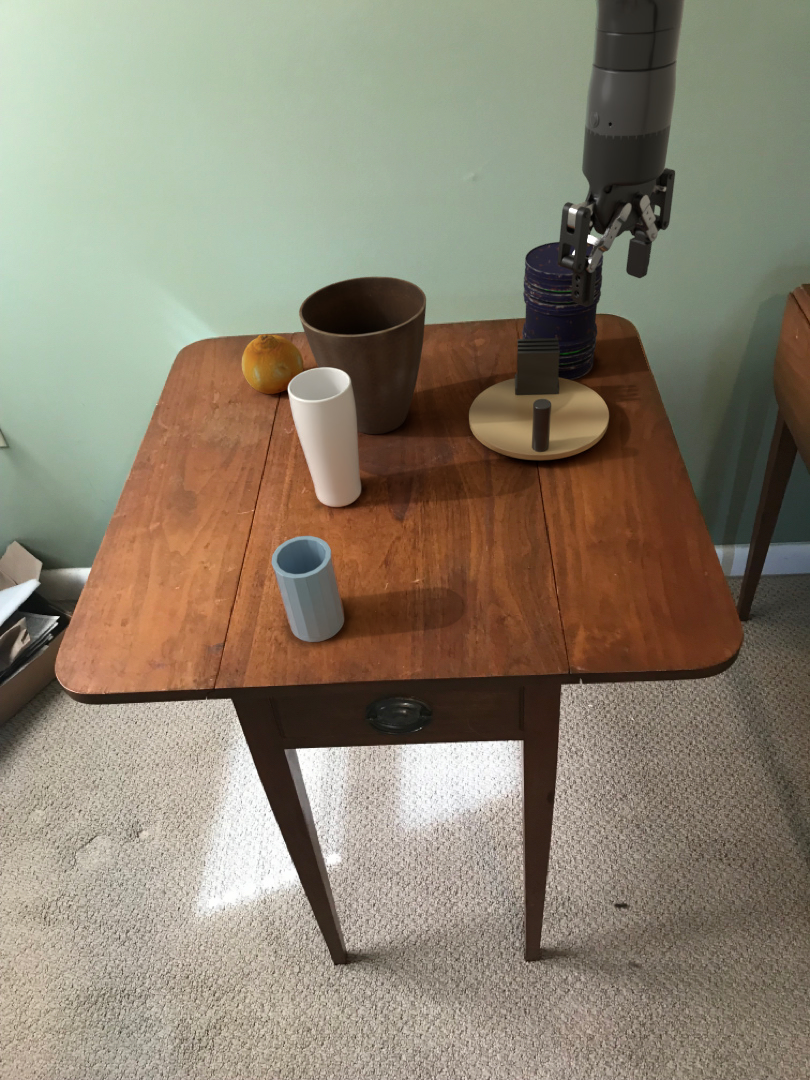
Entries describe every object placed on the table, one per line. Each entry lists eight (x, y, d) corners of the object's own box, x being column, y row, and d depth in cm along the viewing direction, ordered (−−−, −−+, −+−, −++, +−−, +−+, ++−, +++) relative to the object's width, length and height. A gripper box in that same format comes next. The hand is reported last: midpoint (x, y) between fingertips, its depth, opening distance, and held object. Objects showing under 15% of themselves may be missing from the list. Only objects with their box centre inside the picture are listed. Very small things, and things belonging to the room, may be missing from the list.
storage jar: (520, 381, 104) (523, 275, 94) (522, 344, 111) (524, 242, 101) (596, 381, 102) (607, 273, 92) (592, 344, 109) (602, 239, 99)
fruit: (264, 398, 102) (273, 336, 99) (225, 385, 106) (233, 326, 104) (309, 400, 108) (318, 343, 106) (270, 388, 113) (278, 333, 110)
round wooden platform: (470, 382, 102) (469, 336, 97) (601, 379, 100) (606, 331, 95) (466, 461, 90) (465, 412, 85) (615, 459, 88) (622, 409, 83)
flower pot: (297, 431, 100) (272, 317, 89) (367, 376, 108) (352, 266, 97) (388, 466, 93) (374, 347, 82) (456, 405, 101) (451, 290, 90)
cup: (333, 593, 78) (318, 528, 72) (352, 629, 75) (339, 564, 68) (282, 612, 77) (264, 548, 71) (300, 650, 73) (282, 586, 67)
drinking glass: (373, 476, 92) (357, 366, 81) (362, 514, 87) (344, 402, 76) (318, 475, 93) (295, 366, 82) (304, 512, 88) (279, 401, 78)
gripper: (609, 148, 64) (592, 326, 75) (711, 105, 70) (682, 276, 81) (542, 132, 68) (536, 302, 80) (644, 93, 74) (625, 256, 86)
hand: (610, 289), depth 80 cm, fingers open, 8 cm apart
